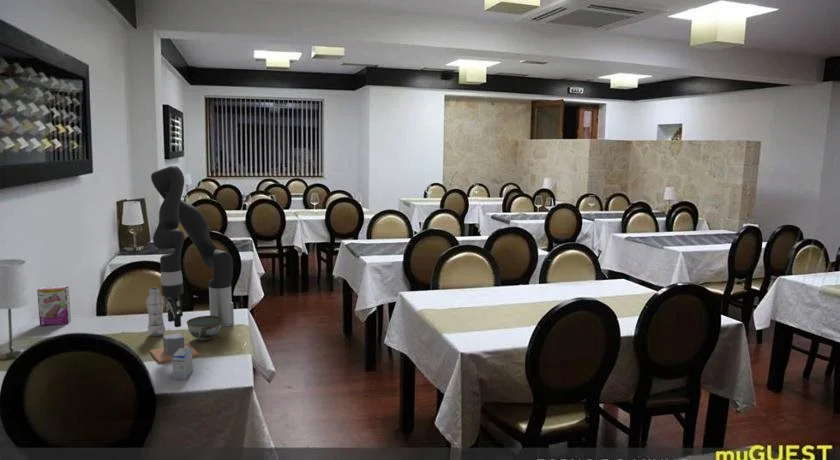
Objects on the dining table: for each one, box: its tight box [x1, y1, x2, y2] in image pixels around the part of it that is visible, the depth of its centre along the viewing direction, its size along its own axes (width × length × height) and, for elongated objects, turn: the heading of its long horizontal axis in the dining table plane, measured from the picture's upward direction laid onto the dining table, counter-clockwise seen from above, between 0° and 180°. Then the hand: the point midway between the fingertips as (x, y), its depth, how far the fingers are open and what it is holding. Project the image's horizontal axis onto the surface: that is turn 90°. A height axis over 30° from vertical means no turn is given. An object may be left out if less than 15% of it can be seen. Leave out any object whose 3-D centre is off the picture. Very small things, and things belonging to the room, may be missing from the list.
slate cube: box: [162, 332, 185, 356], centre depth 220 cm, size 6×6×6 cm
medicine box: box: [171, 348, 194, 381], centre depth 200 cm, size 8×4×9 cm, turn 5°
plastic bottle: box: [145, 287, 166, 337], centre depth 241 cm, size 6×7×20 cm
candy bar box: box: [36, 285, 72, 327], centre depth 255 cm, size 11×5×16 cm, turn 108°
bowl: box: [186, 315, 222, 342], centre depth 238 cm, size 14×13×8 cm
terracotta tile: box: [149, 342, 199, 364], centre depth 221 cm, size 14×14×1 cm
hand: (174, 324), depth 219 cm, fingers open, 8 cm apart
